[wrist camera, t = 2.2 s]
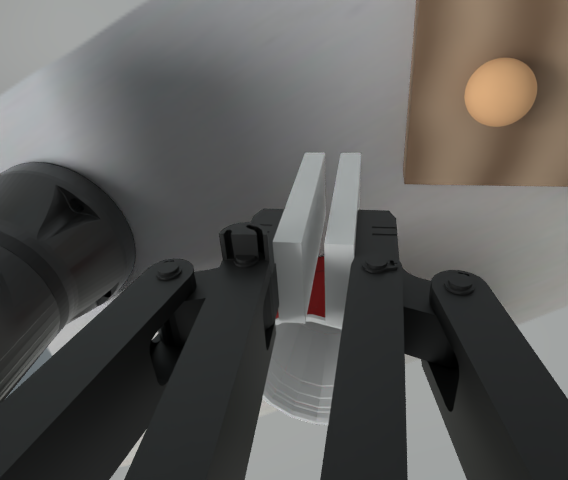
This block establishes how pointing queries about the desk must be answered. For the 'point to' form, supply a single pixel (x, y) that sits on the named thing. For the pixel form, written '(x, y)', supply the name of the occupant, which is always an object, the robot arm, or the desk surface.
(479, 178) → the board
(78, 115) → the desk surface
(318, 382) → the plastic cup
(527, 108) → the ball
